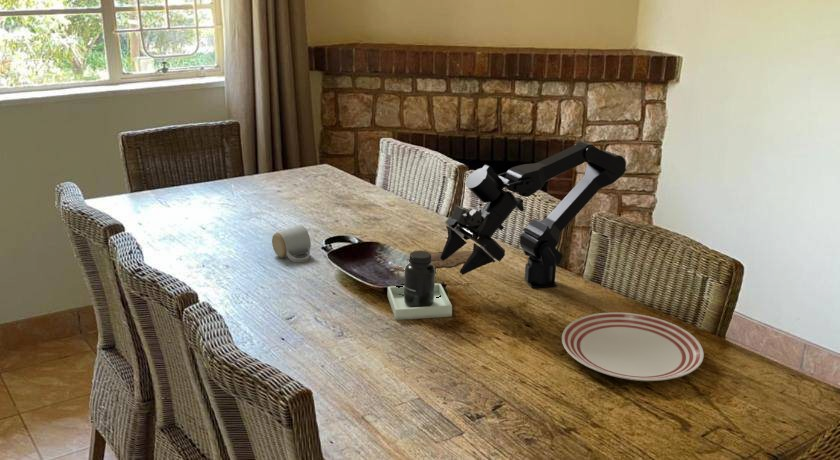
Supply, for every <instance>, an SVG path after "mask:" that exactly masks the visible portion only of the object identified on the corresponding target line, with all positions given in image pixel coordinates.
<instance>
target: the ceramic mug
mask: <svg viewBox="0 0 840 460" xmlns="http://www.w3.org/2000/svg"><path fill="white" fill-rule="evenodd" d="M271 237H272V238H271V244H272V249H273V251H274V253H275V254H276V256H277V257H279V258H281V259H283V258H284V259H286V258H288V259H289V260H290V261H291V262H294V263H296V264H297V263H299V264H300V263H301V264H302V263H305V262H307V261H308V260H309V259H310V255H311V251H310V250H311V246H312V242H311V237H310V234H309V232H308V229H306V227H305V226H304V225H303V224H297V225H294V226H291V227H288V228H283V229H281V230H278V231H277V232H275V233H273V235H272V236H271ZM303 254H307V255H306V256H305V257H301V258H299V257H296V256H301V255H303Z"/></svg>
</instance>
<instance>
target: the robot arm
mask: <svg viewBox="0 0 840 460" xmlns="http://www.w3.org/2000/svg"><path fill="white" fill-rule="evenodd" d="M584 163H586V167H585V171H584V176H583V177H582V178H581V179H580V180H579V181H578V182H577V183H576V185H574V187H573V188H572V189H571V190H570V191H569V192H568V193H567V194H566V196H565V197H564V198H562V200H561V201H560V202H559V203H558V204H557V205H556V206H555V207H554V209H552V211H550V213H549V214H548V215H547V216H546V217H545V218H543V219H541V220H538V219H537V218H533V219H531V220H530V222H529V223H528V225H526V226H525V227H524V228H522V231H523V232H521V234H520V236H519V245H520V248H521V249H522V250H523V253H524V256H527V263H526V264H525V268H524V277H523V278H524V280H525V281H526V282H527V284H528V285H529V286H530V287H531V288H533V289H539V288H554V287H555V288H556V287H558V282H556V270H557V265H560V264H561V262H562V260H563V256H564V255H563V254H562V253H561V252H560V250H558V249H557V246H558V245H559V244H560V237H561V234H562V231H563V230H564V229H565V228H566V227H567V226H568V225H569V224H570V223H571V222H572V221H573V219H574V218H575V217H576V216H577V215H578V214H579V213H580V211H582V210H583V209H584V207H586V205H587V204H588V203H589V202H590V201H591V200H592V198H594V197H595V195H596V194H597V193H598V192H599V191H600V190H601V189H603V188H605V187H606V188H607V187H608V186H610V185H612V184H614V183H615V182H617V180H619V179H620V178H621V177H623V175H624V174H625V173H626V171H627V168H626V167H627V162H626V159H625V158H624V156H622V155H620V154H616V153H614V152H611V151H607V150H605V149H602V150H601V149H600V148H598V147H597V146H595V145H594V144H592V143H588V142H585V141H583V140H582V141H579V142H576V143H575V144H574V145H572V146H570V147H568V148H566V149H564V150H561V151H559V152H557V153H555V154H553V155H550V156H549V157H547V158H544V159H542V160H539V161H538V162H535V163H524V164H519V165H515V166H512V167H511V168H509V169H508V170H507V171H506V172H503V173H499V174H497V173H496V172H495V171H494V169H493V168H492V167H491V166H490V165H488V164H484V165H483V166H482V167H480V168H477V169H476V170H474V171H473V172H471V173H469V175H468V176H467V178H466V181H465V186H466V187H467V189H469V191H470V192H471V193H473V195H474V196H476V198H478V200H480V202H482V203H486V204H485V205H484V206H483V208H482V207H477V208H472V209H469V208H466V207H463V206H460V205H458V204H456V205H455V207H454V209H453V211H452V213H451V215H449V217H448V218H447V220H446V221H445V224H446V227H445V228H446V230H447V238H446V242H445V244H444V247H443V250H442V251H441V252H442V254H441V257H440V258H441V259H442V260H443V261H444V260H445V259H447V258H448V257H450V256H451V255H452V254H453V253H455V252H458V251H459V250H460V249H461V248H462V247H464V246H465V245H466V244H467V241H468V240H471V241H472V242H474V243H473V245H472V246H473V247H472V251H473V253H472V254H471V255H470V257H469V258H468V260H467V261H466V262H465V263H464V264H463V265H462V266H461V268H460V269H459V274H461V275H462V276H464V275H465V274H467V273H470V272H472V271H474V270H476V269H478V268H480V267H484V266H486V265H488V264H490V263H496V261H497V262H499V263H500V262H501V261H502V260H503V259H504V258H505V255H506V250H505V249H504V248H503V247H502V246H501V245H500V244H499V243H498V242H497V241H496V240H495V239H494V238H492V237H493V236H494V235H495V233H496V232H497V231H498V230H500V231H501V232H502V231H503V230H504V228H505V227H504V225H503V223H504V222H505V221H506V220H507V219H508V218H509V216H510V215H511V214H512V212H513V211H514V210H515V209H516V210H518V211H520V212H524V211H525V209H524V208H525V207H524V199H523V198H522V197H524V198H527V197H530V196H532V195H534V194H535V193H537V192H538V191H540V190H541V189H542V188H543V186H544V185H545V184H546V183H547V182H548V181H549V180H552V179H553V178H556V177H557V176H559V175H562V174H564V173H566V172H569V170H572V169H574V168H577V167H578V166H580V165H582V164H584ZM504 189H506V190H507V191H506V190H504ZM513 193H514V194H515V193H516V194H517V195H519V196H521V198H520V197H516V196H515V195H514V194H513Z"/></svg>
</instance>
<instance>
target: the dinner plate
mask: <svg viewBox="0 0 840 460" xmlns="http://www.w3.org/2000/svg"><path fill="white" fill-rule="evenodd" d="M561 343H562V346H563V347H564V349H565V351H566V352H567V353H568V355H570V356H571V357H572V358H573V359H574V360H575V361H577V362H578V363H579V364H581V365H583V366H585V367H586V368H589V369H591V370H594V371H595V372H598V373H601V374H604V375H607V376H610V377H615V378H619V379H623V380H630V381H638V382H639V381H640V382H654V381H656V382H659V381H660V382H661V381H668V380H673V379H674V380H675V379H677V378H681V377H684V376H687V375H689V374H690V373H692V372H694V371H696V370H697V369H698V368H700V366H701V364H702V363H703V361H704V355H705V353H704V349H703V347H702V345H701V343H700V342H699V340H698V339H697V338H696V337H695V336H694V335H693V334H691V333H690V332H689V331H687V330H686V329H683V328H682V327H681V326H678V325H676V324H674V323H671V322H670V321H667V320H664V319H661V318H657V317H653V316H649V315H644V314H640V313H639V314H638V313H630V312H600V313H594V314H589V315H584V316H582V317H580V318H577V319H575V320H573V321H571V322H570V323H569V324H568V325H566V327H565V328H564V329H563V331H562V335H561Z"/></svg>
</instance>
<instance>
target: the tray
mask: <svg viewBox="0 0 840 460" xmlns="http://www.w3.org/2000/svg"><path fill="white" fill-rule="evenodd" d="M402 286H403V287H400V288H398V287H396V286H395V285H393V286H387V298H388V301H389V302H388V303H389V305H390V309H391V311H392V314H393V316H394V319H395V321H401V320H402V321H403V320H418V319H432V318H433V319H435V318H447V317H448V318H449V317H453V304H452V303H451V301H450V299H449V297H448V295H447V293H446V291H445V289H444V288H443V286H442V284H441V283H435V286H434V302H433V304H432V305H431V306H430V307H414V308H411V307H409V306H407V305H406V304H405V302H404V296H402V295H399V294H400V293H404V285H402ZM440 295H441V297H439V296H440ZM436 297H439V298H436Z"/></svg>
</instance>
